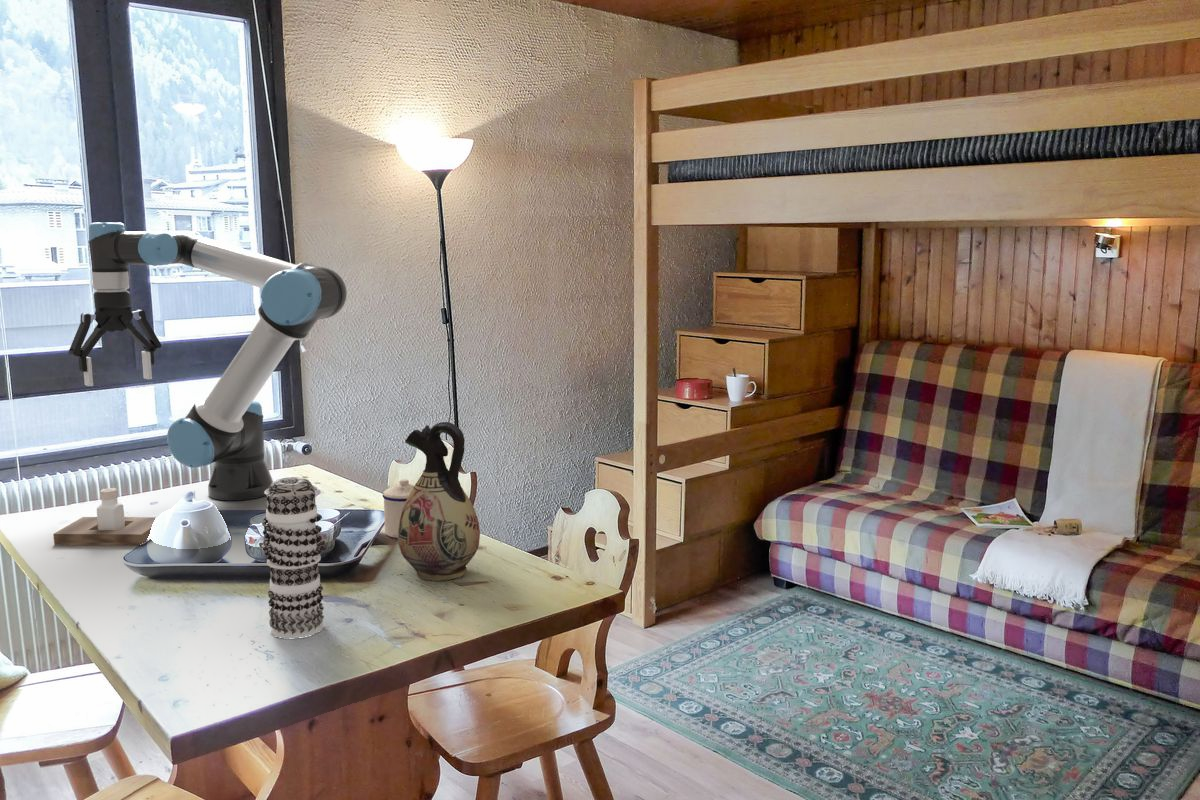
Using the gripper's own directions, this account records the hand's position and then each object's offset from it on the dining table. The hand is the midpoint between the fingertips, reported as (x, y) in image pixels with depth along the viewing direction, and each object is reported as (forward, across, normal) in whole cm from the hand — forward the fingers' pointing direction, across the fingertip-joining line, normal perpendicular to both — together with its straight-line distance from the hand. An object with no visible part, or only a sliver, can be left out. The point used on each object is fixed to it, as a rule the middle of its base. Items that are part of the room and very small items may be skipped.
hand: (119, 382), depth 230 cm
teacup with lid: (+29, -27, +67) cm, 78 cm away
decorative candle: (+29, +18, +96) cm, 102 cm away
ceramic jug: (+29, -15, +94) cm, 100 cm away
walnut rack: (+29, +15, +24) cm, 40 cm away
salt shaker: (+28, +15, +24) cm, 40 cm away
